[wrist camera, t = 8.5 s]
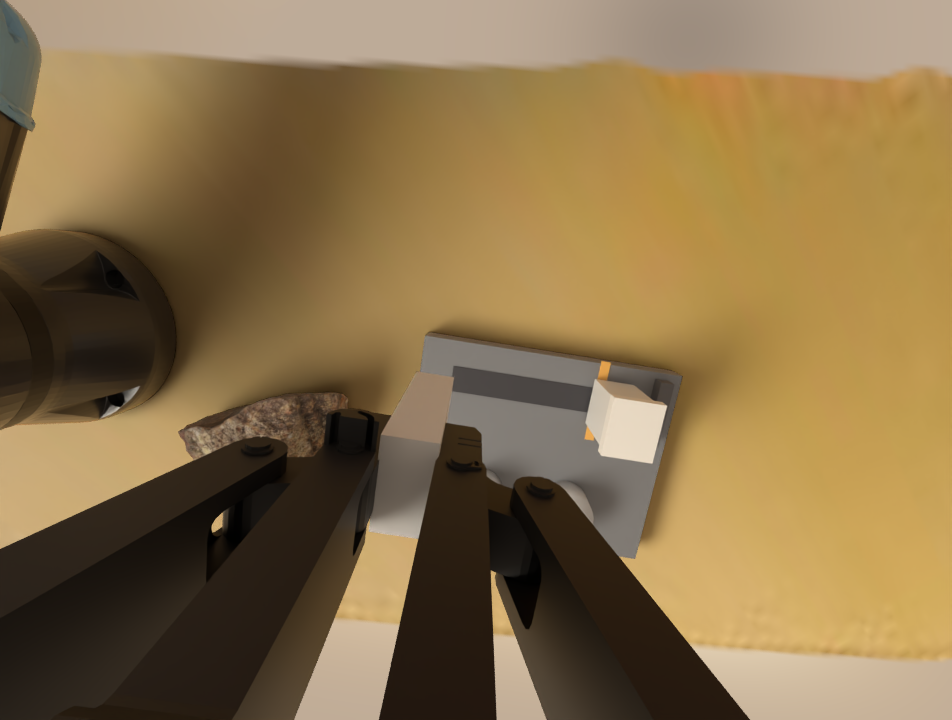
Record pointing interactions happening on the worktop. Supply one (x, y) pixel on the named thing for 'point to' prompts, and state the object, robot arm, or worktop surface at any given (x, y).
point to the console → (552, 424)
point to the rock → (267, 424)
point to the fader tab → (624, 421)
